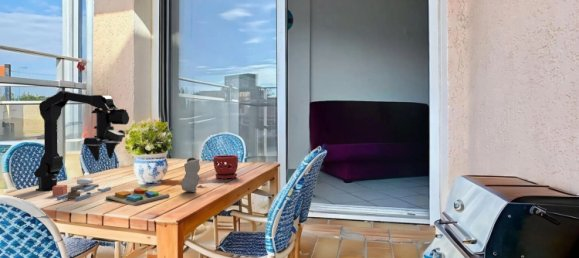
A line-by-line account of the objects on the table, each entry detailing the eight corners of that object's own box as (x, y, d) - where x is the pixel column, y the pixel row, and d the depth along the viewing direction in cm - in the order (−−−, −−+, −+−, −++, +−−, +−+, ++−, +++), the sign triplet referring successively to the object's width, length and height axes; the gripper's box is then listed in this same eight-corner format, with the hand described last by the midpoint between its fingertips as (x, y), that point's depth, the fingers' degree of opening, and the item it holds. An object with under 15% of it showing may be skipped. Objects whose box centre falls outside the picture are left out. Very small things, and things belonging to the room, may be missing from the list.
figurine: (204, 190, 170) (204, 157, 169) (190, 195, 161) (190, 160, 160) (189, 188, 173) (189, 156, 173) (174, 193, 164) (174, 159, 164)
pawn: (65, 199, 151) (65, 189, 150) (72, 197, 155) (72, 187, 155) (75, 200, 150) (75, 190, 150) (82, 197, 154) (82, 187, 154)
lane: (57, 199, 150) (56, 195, 150) (91, 188, 170) (91, 185, 170) (78, 200, 148) (78, 196, 148) (110, 189, 169) (110, 186, 169)
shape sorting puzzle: (135, 207, 142) (135, 198, 142) (104, 200, 151) (104, 192, 151) (171, 198, 157) (171, 190, 157) (140, 192, 166) (140, 185, 166)
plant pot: (241, 176, 208) (241, 154, 207) (232, 180, 195) (232, 157, 194) (219, 175, 211) (219, 153, 210) (209, 179, 198) (209, 156, 197)
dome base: (71, 189, 169) (70, 187, 169) (83, 185, 177) (82, 183, 177) (87, 190, 168) (87, 188, 168) (98, 186, 176) (98, 184, 176)
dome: (73, 185, 170) (73, 180, 170) (83, 182, 176) (83, 177, 176) (86, 185, 169) (86, 180, 169) (95, 183, 175) (95, 178, 175)
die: (52, 196, 156) (52, 186, 155) (57, 194, 159) (57, 184, 159) (62, 196, 156) (62, 186, 156) (67, 194, 160) (67, 184, 160)
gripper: (107, 125, 154) (107, 163, 154) (132, 123, 172) (132, 157, 173) (82, 124, 155) (82, 162, 156) (110, 123, 174) (110, 156, 174)
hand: (103, 159), depth 165 cm, fingers open, 9 cm apart
